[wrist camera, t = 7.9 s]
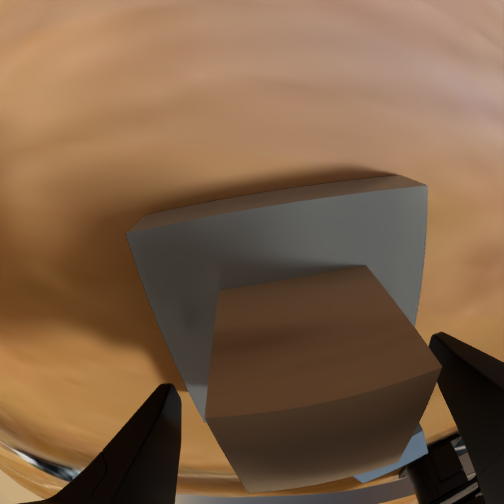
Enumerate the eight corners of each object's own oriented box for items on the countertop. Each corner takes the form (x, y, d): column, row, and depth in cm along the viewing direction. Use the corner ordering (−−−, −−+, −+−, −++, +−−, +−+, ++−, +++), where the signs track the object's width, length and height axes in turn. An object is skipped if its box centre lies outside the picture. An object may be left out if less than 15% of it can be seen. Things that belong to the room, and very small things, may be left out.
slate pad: (387, 361, 14) (400, 386, 12) (207, 393, 14) (204, 422, 13) (399, 174, 10) (427, 185, 8) (143, 215, 11) (125, 233, 9)
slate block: (410, 412, 17) (428, 452, 13) (351, 441, 18) (363, 483, 14) (399, 382, 15) (422, 430, 12) (329, 417, 16) (342, 468, 13)
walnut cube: (359, 366, 11) (397, 462, 7) (245, 388, 12) (248, 493, 7) (365, 265, 9) (442, 366, 5) (218, 290, 10) (204, 417, 5)
